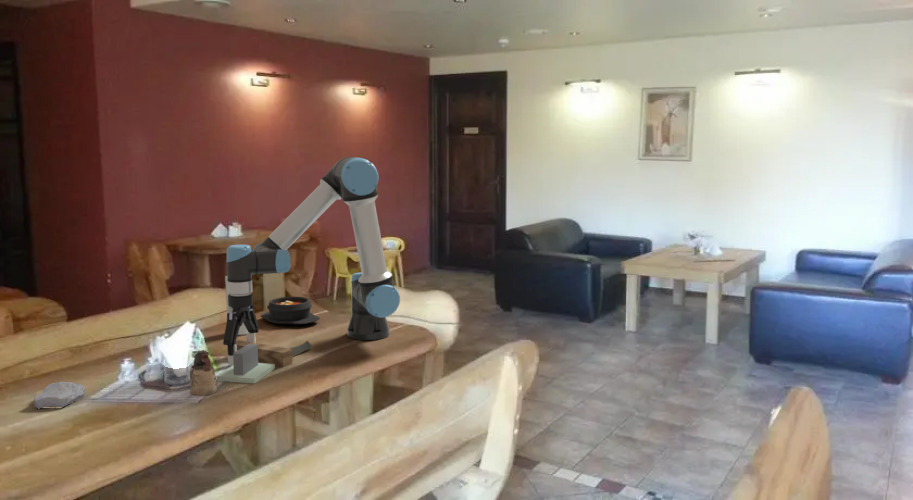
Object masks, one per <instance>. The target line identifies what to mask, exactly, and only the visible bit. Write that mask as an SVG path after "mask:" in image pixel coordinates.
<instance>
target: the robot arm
mask: <svg viewBox="0 0 913 500" xmlns="http://www.w3.org/2000/svg"><path fill="white" fill-rule="evenodd" d="M378 183H379V172H378V170H377V167H376V166H375V165H374V163H372V162H370V161H369V160H368V159H366V158H362V157H354V156H347V157H343V158H341V159H340V160H338V161H336V163H334V165H332V167H331V168H330V169H329V170H327V173H325V174H324V175H323V176H322V178H321V179H319V185H318V186H317V187H316V188H315V189H314V190H313V191H312V192H311V193H310V194H308V196H307V197H306V198H305V199H304V200H303V201H302V202H301V203H300V204H299V205H298V206H297V207H296V208H295V209H294V210H293V211H292V212H291V213H290V214H289V215H288V216H287V217H286V218H285V219H284V220H283V221H282V222H281V223H280V224H279V225H278V226H277V227H276V228H275V229H274V230H273V231H272V232H271V233H270V234H269V235H268V236H267V237H266V238H265V239H264V240H263V241H262V242H260V243H257V244H256V245H255V246H254V247H253V250H252V247H251V245H249V244H240V243H239V244H231V245H228V247H227V249H226V259H225V261H226V276H227V281H228V283H227V285H228V293H229V295H228V305H229V306H230V307H232V308H233V311H232V313H227V312H226V324H225V329H224V336H223V341H222V345H223V346H227V349H226V350H227V365H228V366H232V365H234V364H233V353H235V352H236V351H237V345H235V342H236V341H237V340H238V339H237V337H238V336H239V335H238V332H239V328H240V326H242V323H244V325H245V327H246V329H247V331H248V332H249V333H247V334H246V341H247V342H253V343H257V342H256V341H257V340H256V339H257V338H256V337H257V336H256V334H258V333H259V328H260V327H259V323H258V319H257V315H256V312H255V305H254V300H253V299H254V298H253V294H252V293H253V291H254V290H253V275H266V274H268V275H270V274H282V273H288V272H289V271H290V269H291V255H290V251H289V250H288V249H290V247H291V246H292V245H293V244H294V243H296V241H297V240H298V239H299V238H300V237H301V236H302V235H303V234H304V233H306V231H308V229H309V228H310V227H311V226H312V225H313V224H314V223H315V222H316V221H317V220H318V219H319V218H320V217H321V216H322V214H324V213H325V212H326V211H327V210H328V209H329V208H330V207H331V206H332V205H333V203H335V202H336V201H337V200H343V203H345V204H347V206H348V207H349V214H350V219H351V223H352V230H353V234H354V239H355V244H356V251H357V256H358V261H359V266H360V272H354V273H352V274H351V280H350V286H351V316H350V319H349V323H348V326H347V330H346V331H347V333H346V334H347V337H348V338H349V339H354V340H358V341H359V340H361V341H375V340H381V339H384V338H387V337H389V336H390V326H389V324H388V321H387V317H389V316H392V314H394V313H395V312H396V311H397V310H398V308H399V307H400V303H401V295H400V292H399V291H398V289H397V288H396V287H395V282H394V278H393V273H392V272H390V271H389V270H388V269H387V264H386V257H385V252H384V247H383V241H382V236H381V228H380V224H379V220H378V219H379V218H378V212H377V208H376V207H377V206H376V202H375V201H376V200H377V198H378V197H379V193H378V187H377V186H378Z"/></svg>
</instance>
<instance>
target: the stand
mask: <svg viewBox="0 0 913 500" xmlns="http://www.w3.org/2000/svg"><path fill="white" fill-rule="evenodd" d="M233 364H234V365H230V366H229V367H227V368H226V369H225V370H223V371H222V372H220V373H219V374H217V375H215V376H216V381H217V382H226V383H228V382H229V383H240V384H241V383H242V384H243V383H244V384H257V383H258V382H259V381H261V380H262V379H263V378H264V377H266V376H267V375H268V374H270V373H271V372H272V371H274V370H275V369H276V366H275V364H268V363H258V345H256V344H248V345H246V346H244V347H243V348H241V349H239V350H238V351H236V352H235V353H233Z"/></svg>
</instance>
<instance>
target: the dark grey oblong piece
mask: <svg viewBox="0 0 913 500" xmlns="http://www.w3.org/2000/svg"><path fill="white" fill-rule="evenodd" d="M311 347H312V344H311V343H310V341H308V340H306V341H304V342H303V343H302V344H299V345H296V346H292V347H288V348H289V349H292V358H293V357H295V356H298V355H300V354H301V353H304V352H308V351H311Z"/></svg>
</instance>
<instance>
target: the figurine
mask: <svg viewBox="0 0 913 500" xmlns="http://www.w3.org/2000/svg"><path fill="white" fill-rule="evenodd" d="M209 354H210V352H208V351H207V350H206V349H205V350H204V349H202V350H199V351H198V352H197V353H195V355H194V356H193V359H194V361H193V364H192V366H191V369H192V370H191V373H190V386H189V387H190V388H189V389H190V390H189V391H190V394H191V395H193V396H209V395H213V394H215V393H216V392H217V391H218V381H217V377H216V376H217V375H216V373H215V369H214V366H213V365H212V363H211V358H210V356H209Z"/></svg>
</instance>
